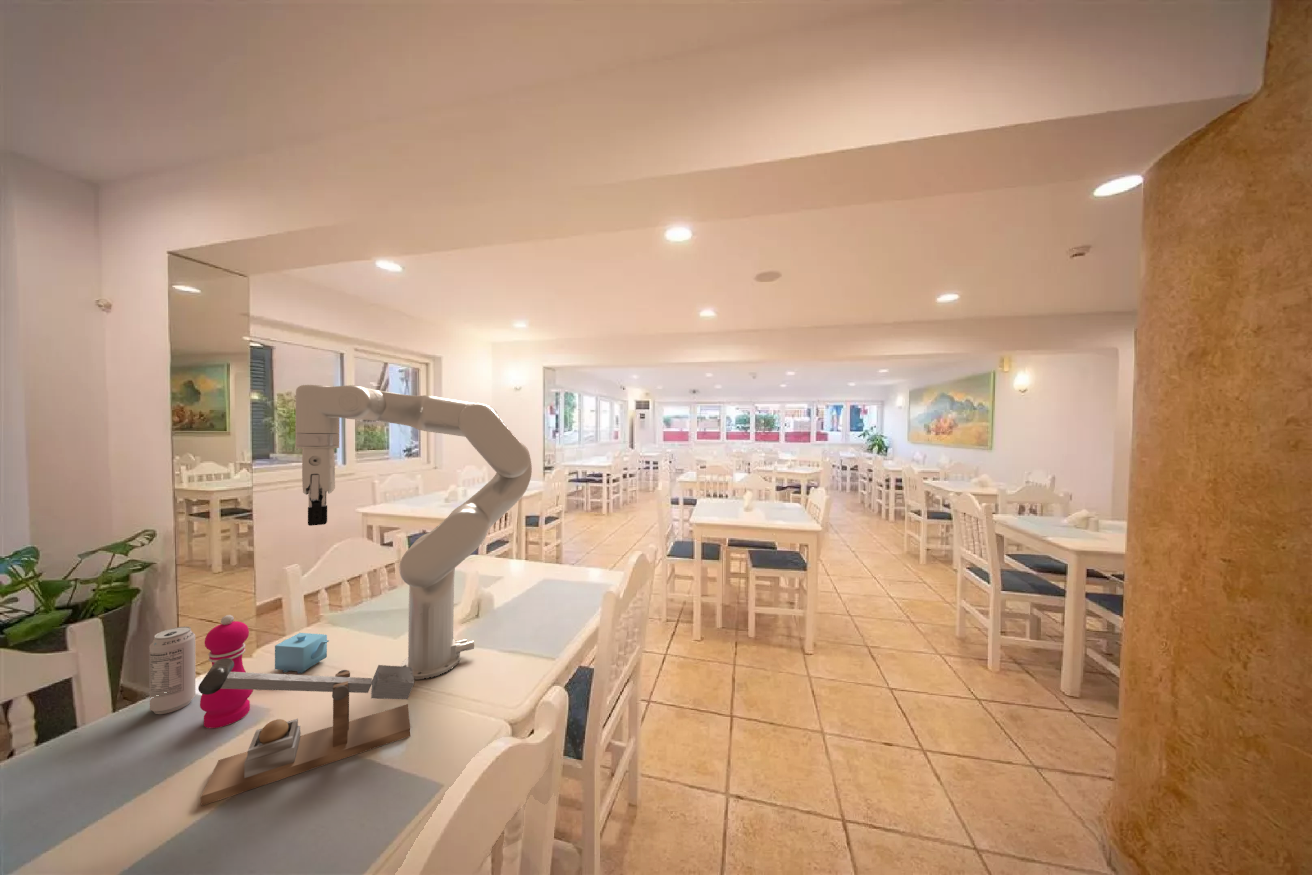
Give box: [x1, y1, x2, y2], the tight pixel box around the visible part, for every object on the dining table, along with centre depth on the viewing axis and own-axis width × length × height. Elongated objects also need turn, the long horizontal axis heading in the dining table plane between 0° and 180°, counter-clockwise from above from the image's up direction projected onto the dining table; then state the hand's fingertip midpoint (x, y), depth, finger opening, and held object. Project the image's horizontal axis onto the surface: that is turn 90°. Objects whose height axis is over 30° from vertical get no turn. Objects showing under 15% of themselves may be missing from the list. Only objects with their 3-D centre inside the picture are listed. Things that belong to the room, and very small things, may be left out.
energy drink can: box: [148, 626, 196, 715], centre depth 84 cm, size 6×6×15 cm
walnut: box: [259, 718, 288, 744], centre depth 70 cm, size 4×4×4 cm
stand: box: [200, 669, 411, 807], centre depth 73 cm, size 27×8×12 cm, turn 123°
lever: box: [198, 658, 415, 700], centre depth 73 cm, size 29×6×3 cm, turn 123°
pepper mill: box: [199, 614, 254, 729], centre depth 81 cm, size 7×7×20 cm
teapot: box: [274, 632, 330, 675], centre depth 98 cm, size 12×6×8 cm, turn 85°
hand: (317, 524), depth 93 cm, fingers closed
